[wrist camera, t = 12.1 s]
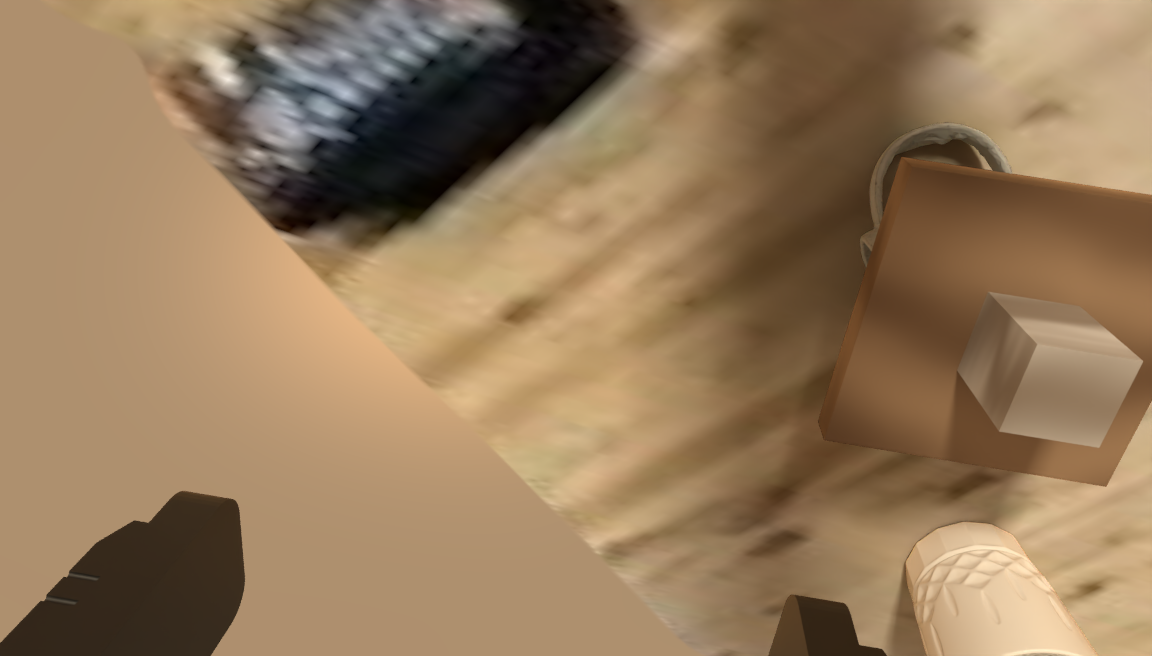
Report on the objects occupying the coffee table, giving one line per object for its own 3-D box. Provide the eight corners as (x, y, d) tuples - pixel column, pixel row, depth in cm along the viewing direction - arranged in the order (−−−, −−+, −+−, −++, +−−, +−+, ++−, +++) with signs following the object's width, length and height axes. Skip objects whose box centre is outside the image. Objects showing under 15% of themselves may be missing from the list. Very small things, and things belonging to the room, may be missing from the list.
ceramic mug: (1059, 280, 39) (1142, 348, 32) (895, 344, 42) (940, 420, 35) (994, 83, 36) (1071, 112, 29) (820, 164, 38) (852, 209, 31)
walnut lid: (901, 156, 30) (952, 202, 25) (1221, 205, 30) (1345, 263, 24) (818, 421, 35) (845, 506, 30) (1089, 465, 35) (1166, 560, 30)
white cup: (1033, 609, 48) (1116, 760, 39) (897, 619, 50) (947, 767, 41) (1036, 505, 45) (1127, 644, 36) (890, 519, 46) (943, 656, 37)
